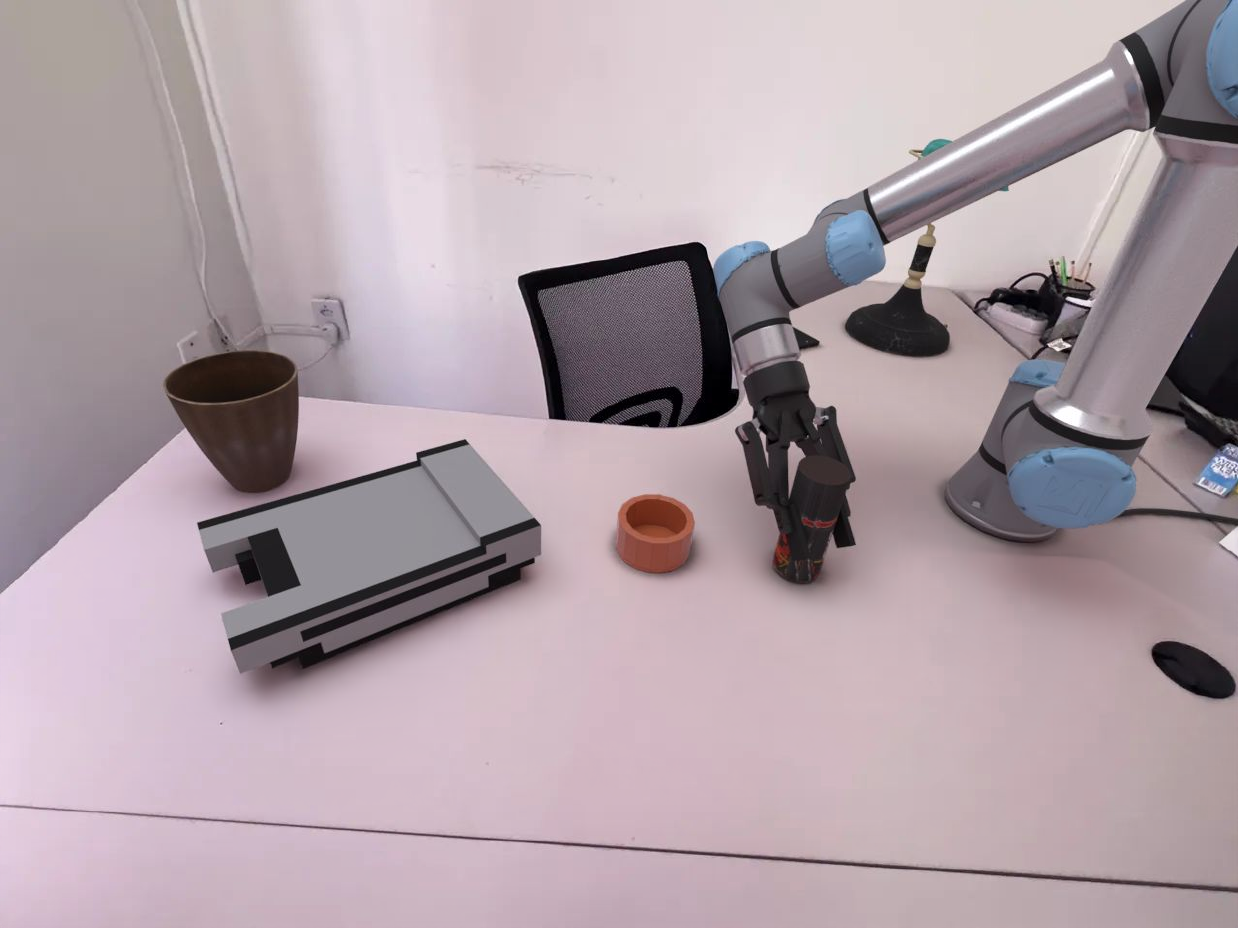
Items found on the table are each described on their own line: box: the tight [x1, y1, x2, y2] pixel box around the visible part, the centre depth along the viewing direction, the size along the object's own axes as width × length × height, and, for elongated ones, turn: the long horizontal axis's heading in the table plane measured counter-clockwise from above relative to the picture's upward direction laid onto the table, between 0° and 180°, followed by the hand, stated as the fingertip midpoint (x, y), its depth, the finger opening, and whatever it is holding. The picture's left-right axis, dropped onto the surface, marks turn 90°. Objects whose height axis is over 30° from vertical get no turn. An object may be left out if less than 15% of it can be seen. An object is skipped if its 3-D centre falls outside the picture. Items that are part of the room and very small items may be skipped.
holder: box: [615, 493, 696, 574], centre depth 83 cm, size 10×10×5 cm
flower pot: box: [162, 349, 300, 494], centre depth 87 cm, size 15×15×16 cm
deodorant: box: [771, 455, 851, 583], centre depth 79 cm, size 6×6×15 cm
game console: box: [196, 438, 542, 675], centre depth 75 cm, size 21×32×8 cm, turn 125°
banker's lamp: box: [844, 138, 1010, 358], centre depth 139 cm, size 26×23×40 cm
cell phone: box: [792, 325, 820, 351], centre depth 147 cm, size 9×18×1 cm, turn 31°
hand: (824, 552), depth 77 cm, fingers closed on deodorant, 6 cm apart
